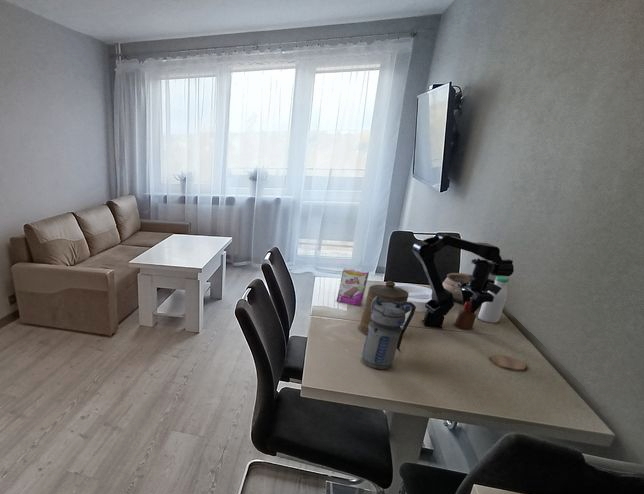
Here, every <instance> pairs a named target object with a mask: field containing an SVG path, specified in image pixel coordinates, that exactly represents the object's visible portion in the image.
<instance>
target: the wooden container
mask: <svg viewBox="0 0 644 494" xmlns="http://www.w3.org/2000/svg"><path fill="white" fill-rule="evenodd" d="M395 283H396V282H394V281H392V280H387V281H386V282H385V284H386V285H384V284H373V285H370V286H369V287H368V291H367V295H366V299H365V303H364V307H363V310H362V314H361V318H360V323H359V330H360V331H361V333H363V334H365V335H367V332H368V327H369V323H370V322H371V321H372V319H371V314H372V312H371V304H372V300H373V299H374V298H375V297H376V296H379V300H389V303H392V302H391V301H394V302H403V301H406V302H407V299H408V295H409V294H408V292H407V291H405V290H403V289H401V288H398V287H394V286H395ZM400 306H401V307H403V305H400Z"/></svg>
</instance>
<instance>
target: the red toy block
mask: <svg viewBox="0 0 644 494" xmlns="http://www.w3.org/2000/svg"><path fill="white" fill-rule="evenodd" d="M462 308H463V309H462V310H467V311H471V303H470V301H466V302H465V304H464V305H463V307H462Z"/></svg>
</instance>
